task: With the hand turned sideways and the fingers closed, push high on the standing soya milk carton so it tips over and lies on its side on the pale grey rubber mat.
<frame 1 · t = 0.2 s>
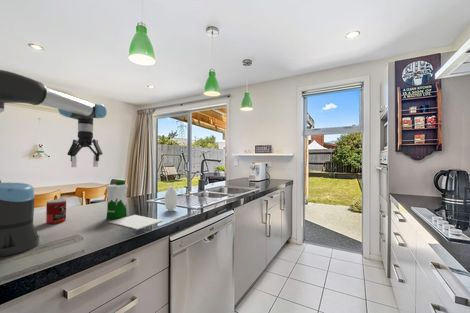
hand: (84, 167, 125), 27 cm above the worktop, tool pointing down, fingers open, 13 cm apart
canned food: (56, 222, 107), on the worktop
sauce bottle: (170, 211, 133), on the worktop
mat: (136, 221, 109), on the worktop
soya milk: (116, 217, 116), on the worktop
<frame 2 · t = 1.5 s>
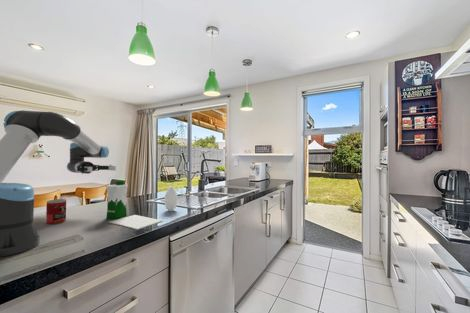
hand: (104, 168, 122), 27 cm above the worktop, tool horizontal, fingers open, 13 cm apart
nothing on the worktop moved.
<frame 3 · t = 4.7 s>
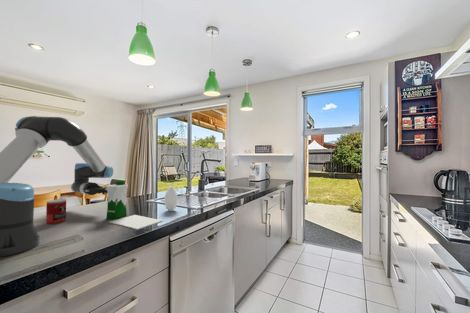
hand: (113, 191, 119), 14 cm above the worktop, tool horizontal, fingers closed
soya milk: (116, 217, 116), on the worktop, touching gripper
everything else where it was.
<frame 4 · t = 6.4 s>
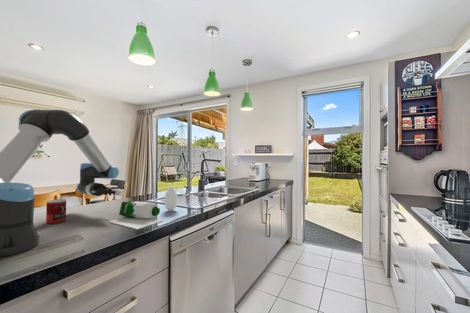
hand: (120, 192, 115), 14 cm above the worktop, tool horizontal, fingers closed
soya milk: (124, 208, 118), point 4 cm above the worktop, touching mat
everything else where it was.
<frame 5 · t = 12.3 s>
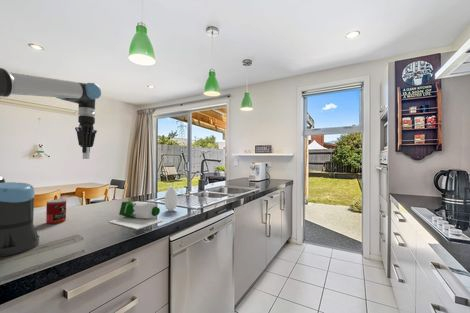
hand: (85, 158, 116), 32 cm above the worktop, tool pointing down, fingers closed
nothing on the worktop moved.
at the end: soya milk tilted 89°; soya milk touching mat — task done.
